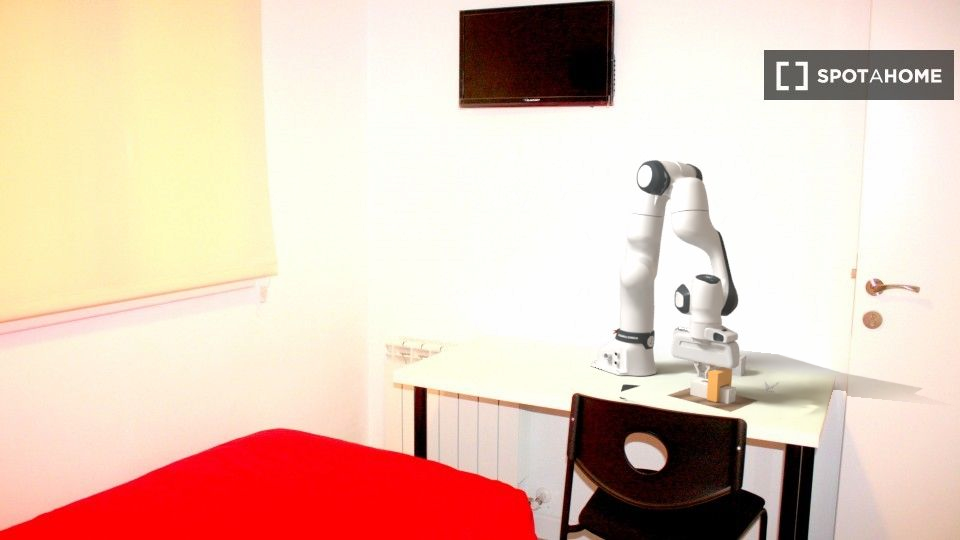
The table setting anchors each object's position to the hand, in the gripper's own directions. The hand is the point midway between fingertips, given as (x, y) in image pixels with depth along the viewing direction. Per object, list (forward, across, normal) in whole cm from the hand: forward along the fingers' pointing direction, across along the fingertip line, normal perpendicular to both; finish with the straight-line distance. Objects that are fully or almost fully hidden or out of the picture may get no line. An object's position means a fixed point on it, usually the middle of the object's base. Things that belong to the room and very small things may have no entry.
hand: (703, 377), depth 212 cm
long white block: (+5, +3, 0) cm, 6 cm away
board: (+7, +3, 0) cm, 8 cm away
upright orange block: (+5, +5, 0) cm, 7 cm away
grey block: (+7, -10, +37) cm, 39 cm away
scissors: (+8, +7, +27) cm, 29 cm away
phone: (+7, -18, -9) cm, 21 cm away
